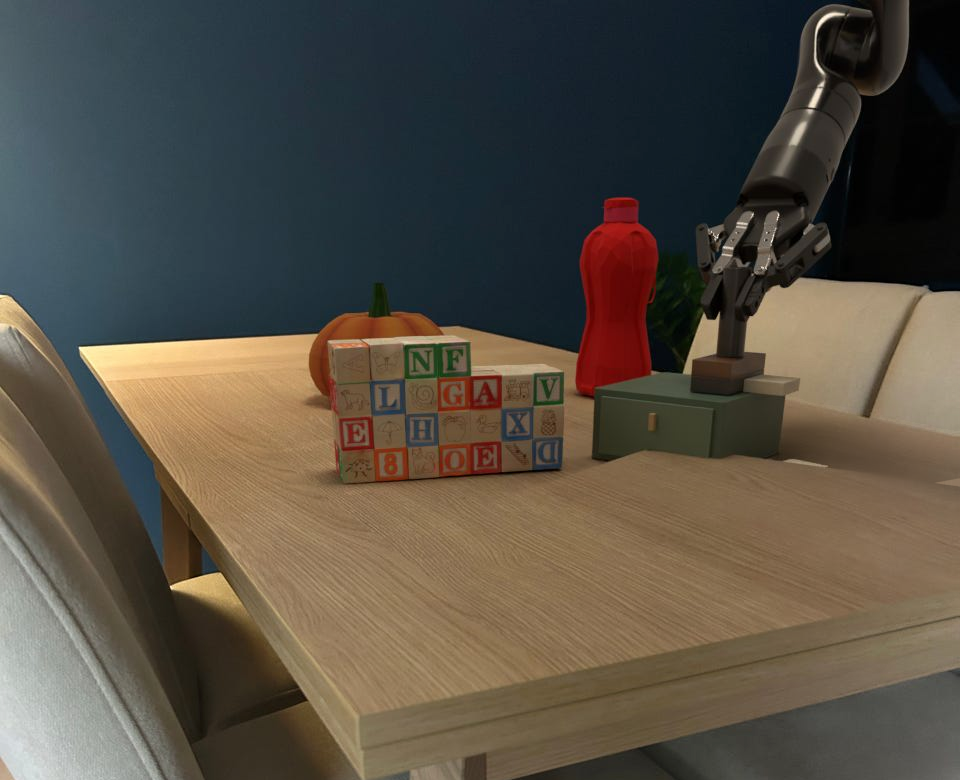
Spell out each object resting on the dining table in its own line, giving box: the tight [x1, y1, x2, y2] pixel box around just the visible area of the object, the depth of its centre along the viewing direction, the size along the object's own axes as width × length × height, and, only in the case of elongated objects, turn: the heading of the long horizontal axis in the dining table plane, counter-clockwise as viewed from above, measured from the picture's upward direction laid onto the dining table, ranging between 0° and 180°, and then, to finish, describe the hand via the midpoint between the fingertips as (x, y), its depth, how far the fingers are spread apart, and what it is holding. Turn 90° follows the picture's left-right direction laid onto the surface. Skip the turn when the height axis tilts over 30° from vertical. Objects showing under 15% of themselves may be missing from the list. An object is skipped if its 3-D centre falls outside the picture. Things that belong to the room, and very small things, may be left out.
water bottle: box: [574, 197, 659, 398], centre depth 130 cm, size 9×11×25 cm
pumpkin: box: [308, 282, 445, 398], centre depth 129 cm, size 19×19×15 cm
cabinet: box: [591, 371, 787, 462], centre depth 98 cm, size 14×15×7 cm
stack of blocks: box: [327, 334, 565, 485], centre depth 92 cm, size 21×6×12 cm, turn 104°
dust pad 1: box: [743, 374, 801, 396], centre depth 93 cm, size 4×4×1 cm
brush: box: [690, 266, 767, 395], centre depth 92 cm, size 8×4×11 cm, turn 142°
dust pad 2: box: [782, 458, 829, 469], centre depth 90 cm, size 4×4×1 cm
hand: (724, 314), depth 90 cm, fingers closed on brush, 2 cm apart
